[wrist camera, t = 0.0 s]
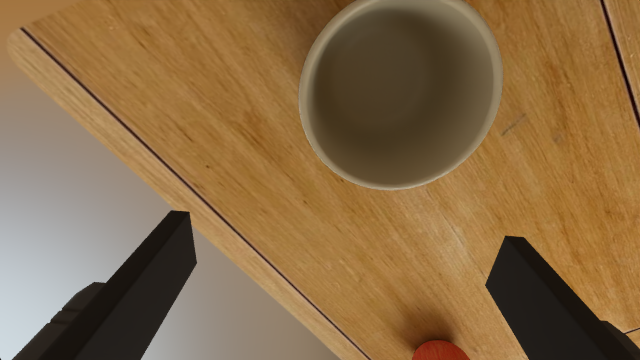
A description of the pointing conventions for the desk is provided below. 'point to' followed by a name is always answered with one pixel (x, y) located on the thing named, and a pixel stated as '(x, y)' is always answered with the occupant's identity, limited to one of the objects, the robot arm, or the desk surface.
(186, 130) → the desk surface
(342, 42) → the planter
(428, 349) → the apple
